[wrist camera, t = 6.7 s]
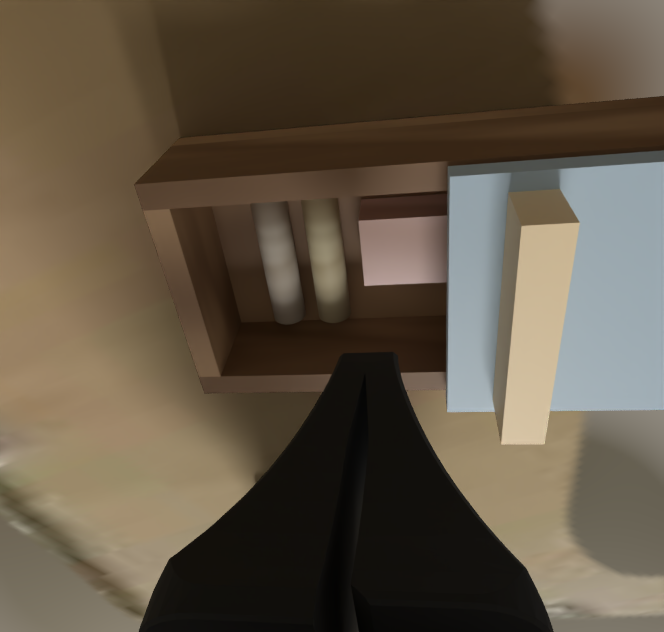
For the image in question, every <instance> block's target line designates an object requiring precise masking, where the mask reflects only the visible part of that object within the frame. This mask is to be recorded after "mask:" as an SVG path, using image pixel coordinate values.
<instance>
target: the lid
mask: <svg viewBox="0 0 664 632" xmlns="http://www.w3.org/2000/svg"><path fill="white" fill-rule="evenodd" d="M446 404H447V412H495V415H496V420H497V426H498V431H499V436H500V441H501V444H545V437H546V431H547V425H548V419H549V412H550V411H598V410H664V150H663V151H649V152H635V153H622V154H608V155H594V156H580V157H567V158H553V159H539V160H526V161H512V162H498V163H485V164H471V165H457V166H448V191H447V315H446Z"/></svg>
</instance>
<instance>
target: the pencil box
mask: <svg viewBox="0 0 664 632" xmlns="http://www.w3.org/2000/svg"><path fill="white" fill-rule="evenodd" d="M663 150H664V96H660V97H648V98H637V99H625V100H613V101H603V102H590V103H579V104H567V105H555V106H544V107H532V108H521V109H509V110H497V111H486V112H474V113H463V114H451V115H439V116H428V117H416V118H405V119H393V120H381V121H370V122H358V123H347V124H335V125H324V126H312V127H300V128H289V129H277V130H266V131H254V132H242V133H231V134H219V135H208V136H196V137H184V138H179V139H178V140H177V141H176V142H175V143H174V144H173V145H172V146H171V147H170V148H169V149H168V150H167V151H166V152H165V153H164V154H163V156H162V157H161V158H160V159H159V160H158V161H157V162H156V163H155V164H154V165H153V166H152V167H151V168H150V169H149V170H148V171H147V172H146V173H145V174H144V175H143V176H142V177H141V178H140V179H139V180H138V181H137V182H136V183H135V184H134V186H135V189H136V191H137V194H138V197H139V200H140V203H141V206H142V209H143V212H144V215H145V218H146V221H147V224H148V227H149V230H150V233H151V236H152V239H153V242H154V245H155V248H156V251H157V254H158V257H159V260H160V263H161V266H162V269H163V272H164V275H165V278H166V281H167V284H168V287H169V290H170V292H171V295H172V298H173V301H174V304H175V307H176V310H177V313H178V316H179V319H180V322H181V325H182V328H183V331H184V334H185V337H186V340H187V343H188V346H189V349H190V352H191V355H192V358H193V361H194V364H195V367H196V370H197V373H198V376H199V379H200V382H201V385H202V388H203V391H204V393H265V392H323V391H324V389H325V387H326V385H327V383H328V381H329V379H330V377H331V375H332V373H333V371H334V369H335V367H336V364H337V362H338V359H339V357H340V356H341V355H342V354H343V353H367V352H394V353H395V354H397V355H398V363H399V369H400V373H401V377H402V380H403V384H404V387H405V390H446V315H447V191H448V166H457V165H471V164H485V163H498V162H512V161H526V160H539V159H553V158H567V157H580V156H594V155H608V154H622V153H635V152H649V151H663Z"/></svg>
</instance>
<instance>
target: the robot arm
mask: <svg viewBox="0 0 664 632" xmlns="http://www.w3.org/2000/svg"><path fill="white" fill-rule="evenodd" d="M139 632H553V629H552V625H551V622H550V619H549V617H548V614H547V611H546V609H545V606H544V604H543V601H542V599H541V597H540V595H539V593H538V591H537V589H536V587H535V585H534V583H533V581H532V579H531V577H530V575H529V573H528V571H527V569H526V568H525V567H524V566H523V564H522V563H521V562H520V561H519V560H518V559H517V558H516V557H515V556H514V555H513V554H512V553H511V552H510V551H509V550H508V549H507V548H506V547H505V546H504V544H503V543H502V542H501V541H500V540H499V539H498V538H497V537H496V536H495V534H494V533H493V532H492V531H491V530H490V528H489V527H488V526H487V525H486V524H485V523H484V521H483V520H482V519H481V518H480V517H479V515H478V514H477V513H476V511H475V510H474V509H473V507H472V506H471V505H470V503H469V502H468V501H467V500H466V498H465V497H464V496H463V494H462V493H461V492H460V490H459V489H458V488H457V486H456V485H455V483H454V482H453V480H452V479H451V477H450V476H449V474H448V473H447V471H446V470H445V468H444V466H443V465H442V463H441V462H440V460H439V458H438V457H437V455H436V453H435V452H434V450H433V448H432V446H431V444H430V443H429V441H428V439H427V437H426V435H425V433H424V431H423V429H422V427H421V425H420V423H419V421H418V419H417V417H416V414H415V412H414V410H413V407H412V405H411V403H410V400H409V398H408V395H407V392H406V390H405V387H404V384H403V380H402V377H401V373H400V369H399V363H398V355H397V354H395V353H394V352H367V353H343V354H342V355H341V356H340V357H339V359H338V362H337V364H336V367H335V369H334V371H333V373H332V375H331V377H330V379H329V381H328V383H327V385H326V387H325V389H324V391H323V392H322V394H321V396H320V397H319V399H318V401H317V403H316V404H315V406H314V408H313V409H312V411H311V413H310V414H309V416H308V417H307V419H306V420H305V422H304V423H303V425H302V426H301V428H300V429H299V431H298V432H297V434H296V435H295V437H294V438H293V439H292V441H291V442H290V443H289V445H288V446H287V447H286V449H285V450H284V451H283V453H282V454H281V455H280V456H279V458H278V459H277V460H276V461H275V463H274V464H273V465H272V466H271V467H270V469H269V470H268V471H267V472H266V473H265V474H264V475H263V476H262V477H261V479H260V480H259V481H258V482H257V483H256V484H255V485H254V486H253V487H252V488H251V489H250V490H249V491H248V492H247V493H246V495H245V496H244V497H243V498H241V499H240V500H239V501H238V502H237V503H236V504H235V505H234V506H233V507H232V508H231V509H230V510H229V511H227V512H226V513H225V514H224V515H223V516H222V517H221V518H220V519H219V520H218V521H217V522H216V523H214V524H213V525H212V526H211V527H210V528H209V529H207V530H206V531H205V532H204V533H202V534H201V535H200V536H199V537H197V538H196V539H195V540H194V541H192V542H191V543H190V544H188V545H187V546H186V547H185V548H183V549H182V550H181V551H180V552H178V553H177V554H176V555H174V556H173V557H171V558H170V559H169V561H168V563H167V564H166V566H165V568H164V570H163V572H162V574H161V576H160V578H159V580H158V582H157V584H156V587H155V589H154V591H153V593H152V596H151V599H150V601H149V604H148V607H147V610H146V612H145V615H144V618H143V621H142V623H141V626H140V629H139Z"/></svg>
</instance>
